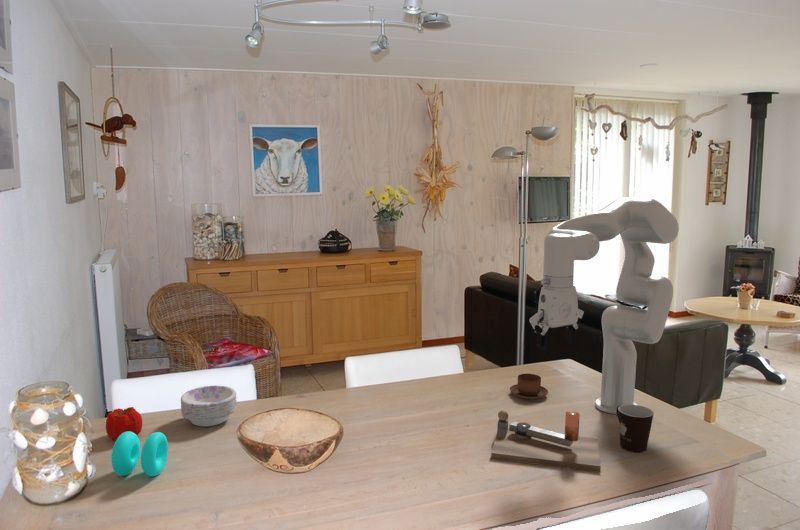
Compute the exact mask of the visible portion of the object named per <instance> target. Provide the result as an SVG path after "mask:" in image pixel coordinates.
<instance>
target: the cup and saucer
mask: <svg viewBox="0 0 800 530" xmlns="http://www.w3.org/2000/svg"><path fill="white" fill-rule="evenodd" d="M509 391H510V393H511V394H512V395H514V396H515V397H517V398H520V399H524V400H538V399H543V398H545V397H547V395H548V394H549V390H548V389H547V388H546V387H544V386H542V377H541V376H540V375H537V374H534V373H520V374H519V375H517V383H516V384H514V385H511V386H510V388H509Z"/></svg>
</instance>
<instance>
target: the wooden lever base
mask: <svg viewBox="0 0 800 530" xmlns="http://www.w3.org/2000/svg"><path fill="white" fill-rule="evenodd" d="M497 417H498V421H497V427H496V428H497V431H496V434H495V438H494V442H493V446H492V450H491V457H490V458H491V459H492V460H502V461H509V462H517V463H524V464H525V463H526V464H531V465H532V464H534V465H538V466H539V465H541V466H549V467H555V468H556V467H557V468H558V467H559V468H563V469H564V468H565V469H571V470H572V469H573V470H580V471H581V470H582V471H587V472H589V471H590V472H597V473H601V465H602V464H601V459H600V458H601V457H600V449H599V442H598V441H599V440H598V438H596V437H587V436H579V437H578V441H573V444H572V445H571V446H570V447H568V446H564V445H561V444H557V443H553V442H549V441H546V440H542V439H538V438H535V437H531V436H527V435H520V434H518V433H516V432H512V431H509V413H508V411H507V410H505V409H502V410H500V411H498V413H497Z"/></svg>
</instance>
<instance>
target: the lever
mask: <svg viewBox="0 0 800 530" xmlns="http://www.w3.org/2000/svg"><path fill="white" fill-rule="evenodd" d="M564 418H565V419H564V433H559V432H555V431H552V430H548V429H544V428H541V427H538V426H534V425H531V424H530V423H528V422H518V421H512V422H511V423H510V424H508V429H509V431H512V432H516V433H518V434H520V435H527V436H531V437H535V438H538V439H542V440H546V441H549V442H553V443H557V444H561V445H564V446H568V447H570V446H571V445H572V444H573V441H578V437H579V434H580V433H579V432H580V413H579V412H578V411H574V410H568V411H565V416H564Z"/></svg>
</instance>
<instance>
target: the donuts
mask: <svg viewBox="0 0 800 530" xmlns="http://www.w3.org/2000/svg"><path fill="white" fill-rule="evenodd" d="M168 454H169V443H168V437H167V436H166V435H165V434H164V433H163V432H160V431H154V432H153V433H150V435H148V437H146V439H145V441H144V442H143V444H142V448H141V442H140V439H139V437H138V435H136V434H135V433H133V432H130V431H128V432H124V433H122V434H121V435H120V436H119V437H118V438H117V440H115V442H114V444H113V447H112V452H111V460H110V461H111V466H112V467H111V468H112V470H113V471H114V473H115V474H116V475H118V476H120V477H121V476H123V477H124V476H128V475H130V474H131V473H132V472H133V471H134V470H135V469H136V467H137V466H138V462H139V460H140V466H141V469H142V471H143V472H144V474H146V475H147V476H149V477H156V476H158V475H160V473H161V472H162V471H163V470H164V468H165V466H166V463H167V460H168V457H169V455H168Z"/></svg>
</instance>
